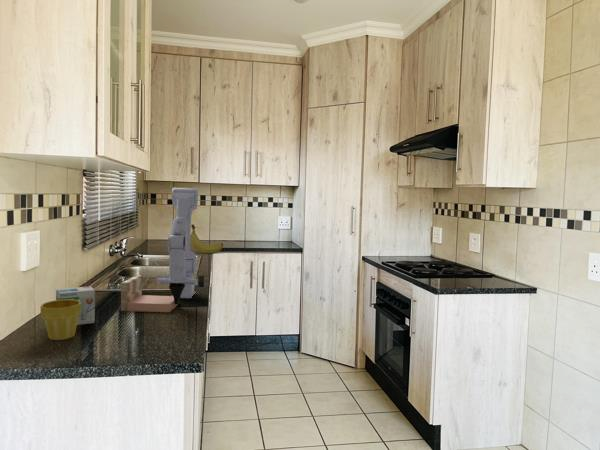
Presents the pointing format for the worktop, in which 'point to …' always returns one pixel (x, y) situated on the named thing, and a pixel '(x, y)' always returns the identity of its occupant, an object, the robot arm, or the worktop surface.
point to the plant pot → (61, 318)
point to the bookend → (130, 290)
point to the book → (152, 303)
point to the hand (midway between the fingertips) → (177, 303)
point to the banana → (201, 246)
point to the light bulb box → (84, 296)
